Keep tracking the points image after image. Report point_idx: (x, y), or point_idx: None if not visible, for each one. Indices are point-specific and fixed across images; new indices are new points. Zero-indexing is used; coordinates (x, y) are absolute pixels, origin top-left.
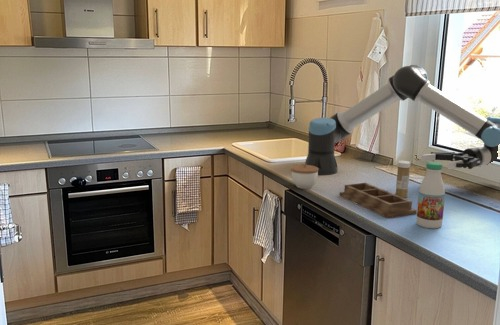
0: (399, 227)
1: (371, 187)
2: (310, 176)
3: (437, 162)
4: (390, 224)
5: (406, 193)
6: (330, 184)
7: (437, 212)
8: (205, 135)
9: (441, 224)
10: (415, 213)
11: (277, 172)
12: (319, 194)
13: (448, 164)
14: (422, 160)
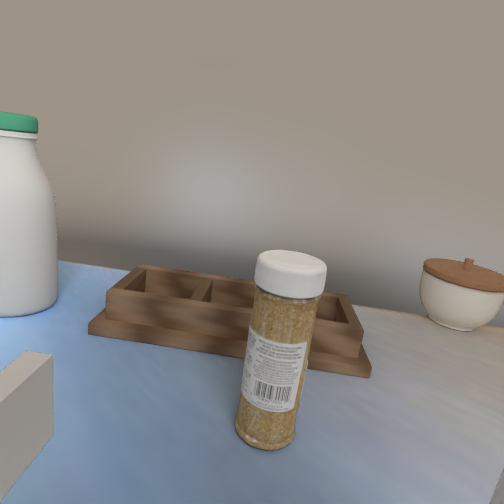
0: (81, 275)
1: None
2: (423, 279)
3: (3, 112)
4: (107, 277)
5: (238, 410)
6: (484, 364)
7: None
8: None
9: None
10: (90, 330)
11: None
12: (367, 308)
13: (43, 381)
14: (497, 491)
